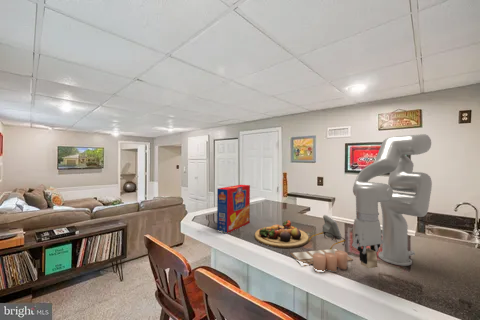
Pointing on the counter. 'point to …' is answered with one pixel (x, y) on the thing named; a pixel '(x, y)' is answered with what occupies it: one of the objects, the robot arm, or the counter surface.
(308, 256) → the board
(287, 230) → the wooden plate with food
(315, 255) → the tan short cylinder
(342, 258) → the tan short cylinder
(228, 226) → the pasta box
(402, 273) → the counter surface
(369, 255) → the beige block
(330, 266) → the tan short cylinder
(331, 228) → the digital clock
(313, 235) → the eyeglasses
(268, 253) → the counter surface
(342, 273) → the counter surface
